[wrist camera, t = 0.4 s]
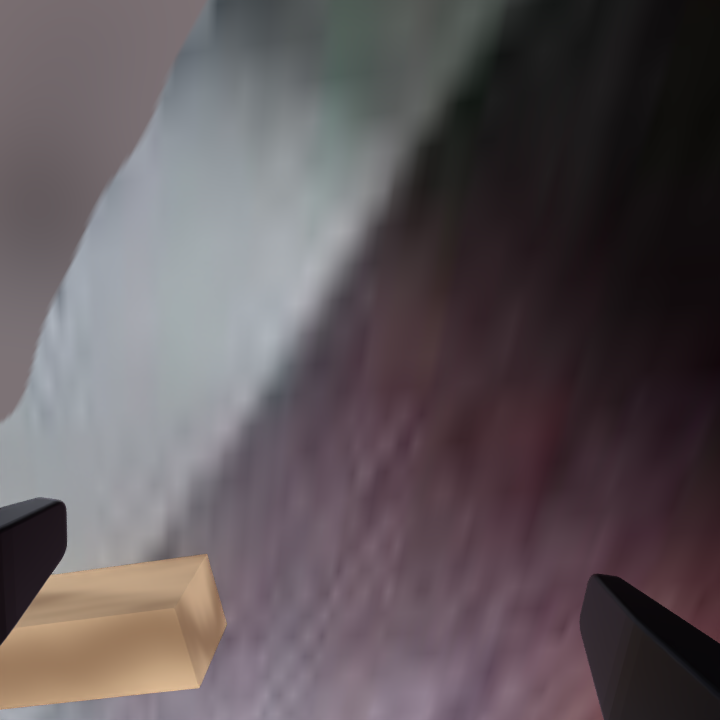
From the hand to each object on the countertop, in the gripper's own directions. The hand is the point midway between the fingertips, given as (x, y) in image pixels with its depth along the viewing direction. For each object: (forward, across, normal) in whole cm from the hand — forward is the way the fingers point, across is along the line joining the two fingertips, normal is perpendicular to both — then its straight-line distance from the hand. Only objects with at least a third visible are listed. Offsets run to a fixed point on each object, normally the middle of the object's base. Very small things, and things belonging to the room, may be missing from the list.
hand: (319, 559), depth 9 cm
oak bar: (+14, +12, +14) cm, 23 cm away
